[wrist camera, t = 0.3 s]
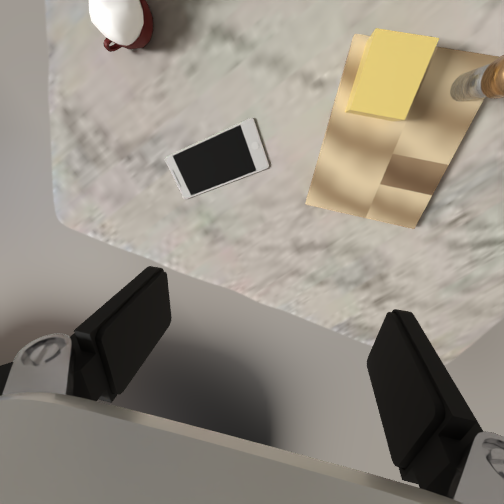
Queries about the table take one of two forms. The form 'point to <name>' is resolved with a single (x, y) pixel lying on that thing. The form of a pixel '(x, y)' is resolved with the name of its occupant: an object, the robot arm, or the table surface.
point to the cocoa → (122, 22)
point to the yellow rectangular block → (390, 74)
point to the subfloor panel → (393, 144)
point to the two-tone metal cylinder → (480, 82)
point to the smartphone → (218, 159)
